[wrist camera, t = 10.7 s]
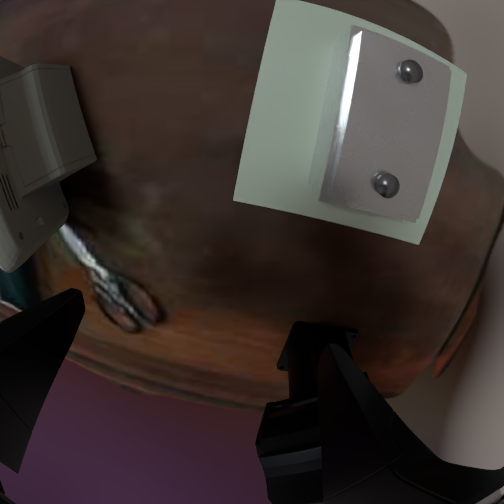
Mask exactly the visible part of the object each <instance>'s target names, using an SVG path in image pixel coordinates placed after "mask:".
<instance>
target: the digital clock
mask: <svg viewBox="0 0 504 504" xmlns="http://www.w3.org/2000/svg"><path fill="white" fill-rule="evenodd" d="M96 160H97V158H96V155H95V152H94V149H93V146H92V143H91V140H90V137H89V134H88V131H87V128H86V125H85V121H84V118H83V115H82V111H81V108H80V104H79V101H78V97H77V94H76V90H75V86H74V82H73V78H72V74H71V70H70V66H68V65H58V64H43V63H42V64H34V65H31V66H29V67H27V68H24V67H22V66H20V65H18V64H16V63H14V62H12V61H10V60H7V59H5V58H3V57H1V56H0V268H1V269H2V270H4V271H6V272H9V273H11V272H13V271H14V270H16V269H17V268H18V267H19V266H21V265H22V264H23V263H24V262H25V261H26V260H27V259H28V258H29V257H30V256H31V255H32V254H33V253H34V252H35V251H36V250H37V249H38V248H39V247H40V246H41V245H42V244H43V243H44V242H45V241H46V240H48V239H49V238H50V237H51V236H52V235H53V234H54V233H55V232H56V231H57V230H58V229H60V228H61V227H62V226H63V225H64V223H65V222H66V220H67V218H68V214H69V207H68V204H67V202H66V199H65V197H64V194H63V191H62V189H61V186H60V183H59V182H60V181H62V180H63V179H65V178H67V177H68V176H70V175H72V174H73V173H75V172H77V171H79V170H80V169H82V168H84V167H86V166H88V165H89V164H91V163H93V162H95V161H96Z"/></svg>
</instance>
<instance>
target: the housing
mask: <svg viewBox="0 0 504 504" xmlns="http://www.w3.org/2000/svg"><path fill="white" fill-rule="evenodd" d="M451 72H452V71H451V70H450V67H449V66H447V65H446V64H444V63H442V62H440V61H438V60H436V59H434V58H433V57H431V56H429V55H427V54H425V53H423V52H421V51H419V50H417V49H414V48H412V47H410V46H408V45H406V44H403V43H401V42H399V41H396V40H394V39H392V38H389V37H387V36H384V35H381V34H379V33H376V32H373V31H371V30H368V29H365V28H362V27H359V26H356V25H352V24H351V25H350V26H349V27H348V28H347V29H346V30H345V31H344V32H343V33H342V34H341V35H340V36H339V37H338V38H337V39H336V40H335V41H334V43H333V49H332V56H331V62H330V68H329V74H328V80H327V85H326V91H325V97H324V102H323V108H322V113H321V118H320V124H319V129H318V134H317V139H316V144H315V149H314V154H313V158H312V163H311V168H310V173H309V177H308V184H309V185H310V187H311V189H312V191H313V192H314V194H315V196H316V198H317V200H318V201H321V202H326V203H331V204H336V205H341V206H345V207H350V208H354V209H359V210H363V211H368V212H372V213H376V214H380V215H384V216H389V217H393V218H397V219H401V220H404V221H408V222H412V223H415V222H416V219H419V216H420V213H421V210H422V207H423V204H424V201H425V198H426V194H427V191H428V188H429V184H430V181H431V177H432V174H433V170H434V166H435V162H436V158H437V154H438V150H439V145H440V141H441V136H442V131H443V126H444V121H445V116H446V110H447V104H448V97H449V90H450V81H451Z"/></svg>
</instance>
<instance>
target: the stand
mask: <svg viewBox="0 0 504 504" xmlns="http://www.w3.org/2000/svg"><path fill="white" fill-rule="evenodd" d="M351 24H352V25H356V26H359V27H362V28H365V29H368V30H371V31H373V32H376V33H379V34H381V35H384V36H387V37H389V38H392V39H394V40H396V41H399V42H401V43H403V44H406V45H408V46H410V47H412V48H414V49H417V50H419V51H421V52H423V53H425V54H427V55H429V56H431V57H433V58H434V59H436V60H438V61H440V62H442V63H444V64H446V65H447V66H449V67H450V70H451V71H452V72H451V81H450V90H449V97H448V104H447V110H446V116H445V121H444V126H443V131H442V136H441V141H440V145H439V150H438V154H437V158H436V162H435V166H434V170H433V174H432V177H431V181H430V184H429V188H428V191H427V194H426V198H425V201H424V204H423V207H422V210H421V213H420V216H419V219H416V222H415V223H412V222H408V221H404V220H401V219H397V218H393V217H389V216H384V215H380V214H376V213H372V212H368V211H363V210H359V209H354V208H350V207H345V206H341V205H336V204H331V203H326V202H321V201H318V200H317V198H316V196H315V194H314V192H313V191H312V189H311V187H310V185H309V184H308V177H309V173H310V168H311V163H312V158H313V154H314V149H315V144H316V139H317V134H318V129H319V124H320V118H321V113H322V108H323V102H324V97H325V91H326V85H327V80H328V74H329V68H330V62H331V56H332V49H333V43H334V41H335V40H336V39H337V38H338V37H339V36H340V35H341V34H342V33H343V32H344V31H345V30H346V29H347V28H348V27H349V26H350V25H351ZM466 76H467V74H466V73H465V72H463V71H462V70H461V69H459V68H458V67H456V66H454V65H453V64H451V63H450V62H448V61H447V60H445V59H443V58H442V57H440V56H438V55H437V54H435V53H433V52H431V51H430V50H428V49H426V48H424V47H422V46H421V45H419V44H417V43H415V42H413V41H411V40H409V39H407V38H405V37H403V36H401V35H399V34H396V33H394V32H392V31H390V30H388V29H385V28H383V27H381V26H378V25H376V24H373V23H371V22H368V21H366V20H363V19H360V18H357V17H355V16H352V15H349V14H346V13H343V12H340V11H337V10H333V9H330V8H327V7H323V6H319V5H316V4H312V3H308V2H304V1H299V0H276V3H275V7H274V11H273V15H272V19H271V23H270V28H269V32H268V36H267V40H266V44H265V49H264V53H263V57H262V62H261V66H260V71H259V75H258V80H257V84H256V89H255V93H254V98H253V102H252V107H251V112H250V117H249V121H248V126H247V131H246V136H245V141H244V146H243V151H242V156H241V161H240V166H239V171H238V177H237V182H236V187H235V193H234V198H233V201H238V202H243V203H248V204H253V205H258V206H263V207H268V208H272V209H277V210H282V211H286V212H291V213H295V214H300V215H304V216H308V217H313V218H317V219H321V220H326V221H330V222H334V223H338V224H342V225H346V226H350V227H354V228H358V229H362V230H366V231H370V232H374V233H377V234H381V235H385V236H389V237H392V238H396V239H400V240H403V241H407V242H410V243H414V244H417V245H419V243H420V241H421V238H422V236H423V233H424V231H425V229H426V226H427V224H428V221H429V218H430V216H431V213H432V211H433V208H434V205H435V202H436V200H437V197H438V194H439V191H440V188H441V185H442V182H443V179H444V175H445V172H446V169H447V166H448V162H449V159H450V155H451V151H452V148H453V144H454V140H455V136H456V132H457V127H458V123H459V118H460V113H461V108H462V103H463V97H464V91H465V84H466Z"/></svg>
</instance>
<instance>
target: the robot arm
mask: <svg viewBox="0 0 504 504" xmlns="http://www.w3.org/2000/svg"><path fill="white" fill-rule="evenodd" d="M84 313H85V304H84V299H83V294H82V292H81V291H80V290H78V289H75V288H70V289H68V290H66V291H64V292H62V293H59V294H57V295H55V296H53V297H51V298H49V299H46V300H44V301H42V302H40V303H38V304H36V305H34V306H32V307H30V308H27V309H25V310H23V311H21V312H19V313H17V314H15V315H13V316H11V317H9V318H7V319H5V320H3V321H1V323H0V462H1V463H3V464H4V465H5V466H7V467H8V468H10V469H11V470H13V471H14V472H16V473H17V474H18V472H19V470H20V467H21V463H22V460H23V457H24V454H25V451H26V447H27V445H28V442H29V439H30V437H31V434H32V431H33V428H34V425H35V423H36V420H37V418H38V415H39V413H40V410H41V408H42V406H43V403H44V401H45V399H46V396H47V394H48V392H49V390H50V387H51V385H52V383H53V381H54V379H55V377H56V375H57V373H58V370H59V368H60V366H61V364H62V362H63V360H64V358H65V356H66V354H67V352H68V351H69V348H70V346H71V344H72V342H73V340H74V337H75V335H76V332H77V330H78V327H79V325H80V323H81V320H82V318H83V316H84ZM297 327H300V328H297ZM352 335H353V336H352ZM358 337H359V333H358V331H357V330H352V329H344V328H336V327H329V326H322V325H315V324H308V323H301V322H297V323H295V324H293V326H292V329H291V331H290V334H289V336H288V339H287V341H286V343H285V346H284V348H283V351H282V353H281V356H280V358H279V360H278V363H277V369H278V370H282V371H288V375H289V399H285V400H281V401H277V402H269V403H267V404H266V408H265V411H264V414H263V418H262V421H261V425H260V428H259V431H258V434H257V439H256V443H255V444H256V447H257V453H258V457H259V460H260V462H261V465H262V467H263V470H264V473H265V477H266V484H267V492H268V499H269V500H270V501H271V502H272V504H504V494H503V495H501V492H500V488H502V487H503V486H504V467H502V468H501V469H498V470H485V469H479V468H473V467H468V466H462V465H457V464H452V463H448V462H446V461H443V460H442V459H440V458H439V457H437V456H436V455H435V454H434V453H433V452H432V451H431V450H430V449H429V448H428V447H427V446H426V445H425V444H424V443H423V442H422V441H421V440H420V439H419V438H418V437H417V436H416V435H415V434H414V433H413V432H412V431H411V430H410V429H409V428H408V427H407V426H406V424H405V423H404V422H403V421H402V420H401V419H400V417H399V416H398V415H397V414H396V412H395V411H393V409H392V408H391V406H390V405H389V404H388V403H387V402H386V400H385V399H384V398H383V397H382V396H381V394H380V393H379V392H378V391H377V389H376V388H375V387H374V386H373V385H372V383H371V382H370V380H369V377H368V374H367V372H365V373H362V371H361V370H360V369H359V368H358V367H357V365H356V364H355V363H354V362H353V358H352V355H351V349H352V347H353V346H354V344H355V342H356V341H357V339H358ZM0 504H16V503H15V502H14V501H12V500H11V499H9V498H8V497H7V496H6V495H5V492H4V490H3V487H2V484H1V481H0Z"/></svg>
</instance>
